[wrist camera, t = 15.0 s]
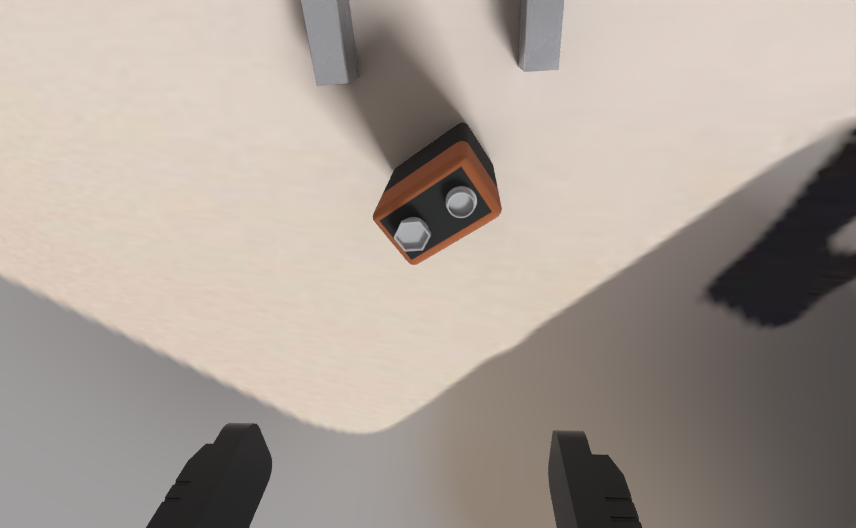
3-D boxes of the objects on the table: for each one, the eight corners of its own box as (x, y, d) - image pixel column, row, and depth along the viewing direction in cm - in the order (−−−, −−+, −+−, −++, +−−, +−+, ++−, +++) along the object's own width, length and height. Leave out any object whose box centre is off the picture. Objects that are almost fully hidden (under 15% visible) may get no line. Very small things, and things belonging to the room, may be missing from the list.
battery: (391, 170, 32) (364, 223, 24) (464, 118, 30) (464, 157, 21) (423, 212, 34) (410, 277, 25) (495, 167, 32) (507, 221, 23)
